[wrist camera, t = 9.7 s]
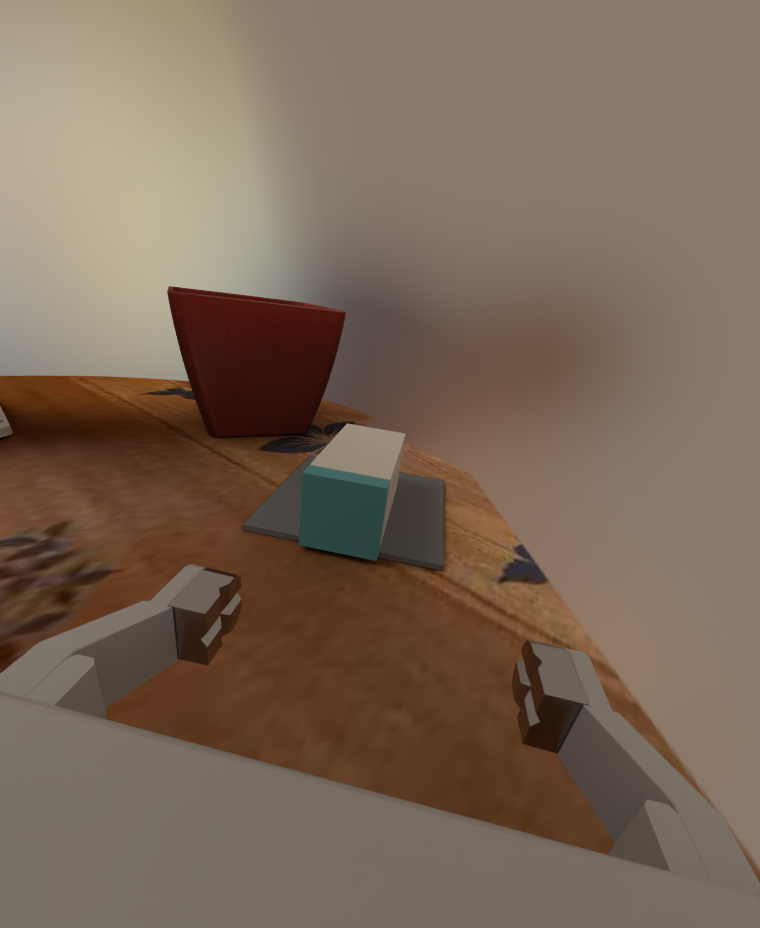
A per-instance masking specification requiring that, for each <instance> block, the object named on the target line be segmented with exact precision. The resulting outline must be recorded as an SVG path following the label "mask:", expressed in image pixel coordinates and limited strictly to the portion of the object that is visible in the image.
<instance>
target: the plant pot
mask: <svg viewBox="0 0 760 928" xmlns="http://www.w3.org/2000/svg"><path fill="white" fill-rule="evenodd" d="M167 292H168V299H169V303H170V309H171V313H172V318H173V323H174V327H175V331H176V335H177V339H178V343H179V347H180V351H181V355H182V358H183V362H184V365H185V369H186V372H187V375H188V379H189V382H190V385H191V388H192V391H193V394H194V397H195V400H196V403H197V405H198V408H199V411H200V414H201V416H202V419H203V422H204V424H205V426H206V429H207V431H208V433H209V434H210V435H211V436H215V437H227V436H252V435H278V434H301V433H306V432H307V431H308V429H309V427H310V425H311V423H312V421H313V419H314V416H315V414H316V412H317V409H318V407H319V405H320V402H321V400H322V397H323V394H324V392H325V389H326V386H327V383H328V381H329V377H330V374H331V371H332V368H333V365H334V361H335V358H336V353H337V350H338V346H339V342H340V338H341V334H342V330H343V325H344V320H345V315H346V312H345V311H341V310H337V309H332V308H328V307H322V306H318V305H312V304H308V303H301V302H294V301H286V300H279V299H270V298H262V297H254V296H246V295H238V294H230V293H222V292H213V291H204V290H196V289H188V288H180V287H169V288H168V291H167Z"/></svg>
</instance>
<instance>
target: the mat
mask: <svg viewBox="0 0 760 928" xmlns="http://www.w3.org/2000/svg"><path fill="white" fill-rule="evenodd" d="M315 458H316V457H313V456H308V457H307V458H306V460H305V461H304V462H303V463H302V464H301V465H300V466H299V467H298V468H297V469H296V470H295V471H294V472H293V473H292V474H291V475H290V476H289V477H288V478H287V479H286V480H285V481H284V482H283V483H282V484H281V485H280V486H279V488H278V489H277V490H276V491H275V492H274V493H273V494H272V495H271V496H270V497H269V498H268V499H267V500H266V501H265V502H264V503H263V504H262V505H261V506H260V507H259V508H258V509H257V510H256V511H255V512H254V513H253V515H252V516H251V517H250V518H249V519H248V520H247V521H246V522H245V523H244V524H243V530H246V531H251V532H256V533H261V534H266V535H270V536H275V537H280V538H285V539H290V540H295V541H299V526H300V507H301V489H302V472H303V471H304V470H305V469H306V468H307V467H308V466H309V465H310V464H311V463H312V462H313V460H314V459H315ZM378 558H383V559H387V560H392V561H397V562H402V563H407V564H412V565H417V566H422V567H426V568H431V569H436V570H441V571H443V567H444V480H440V479H434V478H429V477H423V476H418V475H412V474H407V473H401V472H399V478H398V484H397V489H396V493H395V496H394V500H393V503H392V507H391V510H390V514H389V518H388V521H387V525H386V528H385V532H384V536H383V539H382V543H381V546H380V550H379V553H378Z"/></svg>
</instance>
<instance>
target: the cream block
mask: <svg viewBox="0 0 760 928" xmlns="http://www.w3.org/2000/svg"><path fill="white" fill-rule="evenodd" d="M405 435H406V434H405V433H399V432H393V431H387V430H381V429H376V428H370V427H365V426H359V425H353V424H346V425H345V426H344V428H343V429H342V430H341V431H340V432H339V433H338V434H337V435H336V436H335V437H334V438H333V440H332V441H331V442H330V443H329V444H328V445H327V446H326V447H325V448H324V449H323V451H322V452H321V453H320V454H319V455H318V456H317V457H316V458H315V459H314V460H313V462H312V463H311V464H310V465H309V466H308V467H307V468H306V469H305V470H304V471H303V472H302V489H301V507H300V526H299V544H298V545H302V546H306V547H311V548H316V549H321V550H326V551H330V552H335V553H340V554H345V555H350V556H354V557H359V558H364V559H369V560H374V561H377V557H378V553H379V550H380V546H381V543H382V539H383V536H384V532H385V528H386V525H387V521H388V518H389V514H390V510H391V507H392V503H393V500H394V496H395V493H396V489H397V484H398V478H399V472H400V466H401V459H402V453H403V447H404V441H405Z"/></svg>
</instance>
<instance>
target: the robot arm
mask: <svg viewBox="0 0 760 928" xmlns="http://www.w3.org/2000/svg"><path fill="white" fill-rule="evenodd" d="M12 433H13V431H12V429H11V427H10V424H9V422H8V420H7V418H6V416H5V414H4V412H3V410H2V408H1V406H0V438H1V437H5V436H8V435H11V434H12ZM240 588H241V577H240V576H238V575H234V574H231V573H227V572H223V571H219V570H215V569H211V568H205V567H201V566H197V565H193V564H190V565H187V566H185V567H184V568H183V569H182V570H181V571H180V572H179V573H178V574H177V575H176V576H175V577H174V578H173V579H172V580H171V581H170V582H169V583H168V584H167V585H166V586H164V587H163V588H162V589H161V590H160V591H159V592H158V593H157V594H156V595H155V596H154V597H153V598H152V599H151V600H150V601H149V602H148V601H142V602H139V603H137V604H134V605H132V606H129V607H127V608H124V609H122V610H119V611H117V612H114V613H112V614H109V615H106V616H104V617H101V618H99V619H96V620H94V621H91V622H89V623H86V624H84V625H81V626H79V627H76V628H74V629H71V630H69V631H66V632H64V633H61V634H59V635H56V636H54V637H51V638H49V639H46V640H44V641H41V642H39V643H38V644H36V645H35V646H34V647H33V648H31V649H30V650H29V651H28V652H27V653H25V654H24V655H23V656H22V657H20V658H19V659H18V660H17V661H15V662H14V663H13V664H12V665H11V666H9V667H8V668H7V669H6V670H4V671H3V672H2V673H1V674H0V928H760V882H759V880H758V879H757V877H756V875H755V873H754V871H753V870H752V868H751V866H750V864H749V862H748V861H747V859H746V857H745V855H744V853H743V852H742V850H741V848H740V846H739V844H738V843H737V841H736V839H735V837H734V835H733V834H732V832H731V830H730V828H729V826H728V825H727V823H726V821H725V819H724V817H723V816H722V815H721V814H720V813H719V812H718V811H717V810H716V809H715V808H714V807H713V806H712V805H711V804H710V803H709V802H708V801H707V800H706V799H705V798H704V797H703V796H702V795H701V794H700V793H699V792H698V791H697V790H696V789H695V788H694V787H693V786H692V785H691V784H690V783H689V782H688V781H687V780H686V779H685V778H684V777H683V776H682V775H681V774H680V773H679V772H678V771H677V770H676V769H675V768H674V767H673V766H672V765H671V764H670V763H669V762H668V761H667V760H666V759H665V758H664V757H663V756H662V755H661V754H660V753H659V752H658V751H657V750H656V749H655V748H654V747H653V746H652V745H651V744H650V743H649V742H648V741H647V740H646V739H645V738H644V737H643V736H642V735H641V734H640V733H639V732H638V731H637V730H636V729H635V728H634V727H633V726H632V725H631V724H630V723H629V722H628V721H627V720H626V719H625V718H624V717H623V716H622V715H621V714H620V713H617V712H613V710H612V708H611V706H610V703H609V701H608V699H607V697H606V694H605V692H604V690H603V687H602V685H601V683H600V681H599V678H598V676H597V674H596V671H595V669H594V667H593V664H592V662H591V660H590V658H589V656H588V655H587V654H586V653H585V652H581V651H577V650H572V649H567V648H565V649H564V648H562V647H557V646H552V645H548V644H543V643H538V642H534V641H529V640H527V641H526V642H525V643H524V645H523V647H522V650H521V651H522V656H523V659H521V660H519V661H518V662H516V665H515V668H514V671H513V679H512V688H513V696H514V700H515V702H516V703H517V704H518V706H519V707H520V708H521V709H520V712H519V714H518V717H517V718H518V723H519V728H520V734H521V739H522V744H525V745H529V746H532V747H536V748H540V749H543V750H547V751H550V752H554V753H557V756H558V758H559V759H560V761H561V762H562V764H563V765H564V767H565V768H566V770H567V771H568V773H569V774H570V776H571V777H572V779H573V780H574V782H575V783H576V785H577V786H578V788H579V789H580V791H581V792H582V794H583V796H584V797H585V799H586V800H587V802H588V803H589V805H590V806H591V808H592V809H593V811H594V812H595V814H596V815H597V817H598V818H599V820H600V821H601V823H602V824H603V826H604V827H605V829H606V830H607V832H608V834H609V835H610V837H611V838H612V840H613V841H614V843H615V844H614V846H613V847H612V848H611V850H610V851H609V852H608V854H604V853H600V852H596V851H592V850H589V849H585V848H581V847H578V846H574V845H570V844H567V843H563V842H559V841H555V840H552V839H548V838H544V837H541V836H537V835H533V834H530V833H526V832H522V831H518V830H515V829H511V828H507V827H504V826H500V825H496V824H492V823H489V822H485V821H481V820H478V819H474V818H470V817H466V816H463V815H459V814H455V813H452V812H448V811H444V810H440V809H437V808H433V807H429V806H426V805H422V804H418V803H414V802H411V801H407V800H403V799H400V798H396V797H392V796H388V795H385V794H381V793H377V792H374V791H370V790H366V789H362V788H359V787H355V786H351V785H348V784H344V783H340V782H337V781H333V780H329V779H325V778H322V777H318V776H314V775H311V774H307V773H303V772H299V771H296V770H292V769H288V768H285V767H281V766H277V765H274V764H270V763H266V762H262V761H259V760H255V759H251V758H248V757H244V756H240V755H237V754H233V753H229V752H225V751H222V750H218V749H214V748H211V747H207V746H203V745H200V744H196V743H192V742H188V741H185V740H181V739H177V738H174V737H170V736H166V735H163V734H159V733H155V732H151V731H148V730H144V729H140V728H137V727H133V726H129V725H126V724H122V723H118V722H114V721H111V720H108V718H107V714H106V710H105V708H106V707H108V706H109V705H111V704H112V703H114V702H115V701H117V700H119V699H120V698H122V697H123V696H125V695H126V694H128V693H129V692H131V691H132V690H134V689H135V688H137V687H138V686H140V685H142V684H143V683H145V682H146V681H148V680H149V679H151V678H152V677H154V676H155V675H157V674H158V673H160V672H161V671H163V670H164V669H166V668H168V667H169V666H171V665H172V664H174V663H175V662H177V661H178V659H181V660H186V661H190V662H195V663H199V664H204V665H209V663H210V662H211V660H212V659H213V657H214V656H215V654H216V653H217V651H218V650H219V648H220V647H221V646H222V636H224V635H226V634H228V633H230V632H231V630H232V629H233V627H234V626H235V624H236V622H237V619H238V617H239V615H240V610H241V597H240V596H239V594H238V593H237V592H238V591H239V589H240Z"/></svg>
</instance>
